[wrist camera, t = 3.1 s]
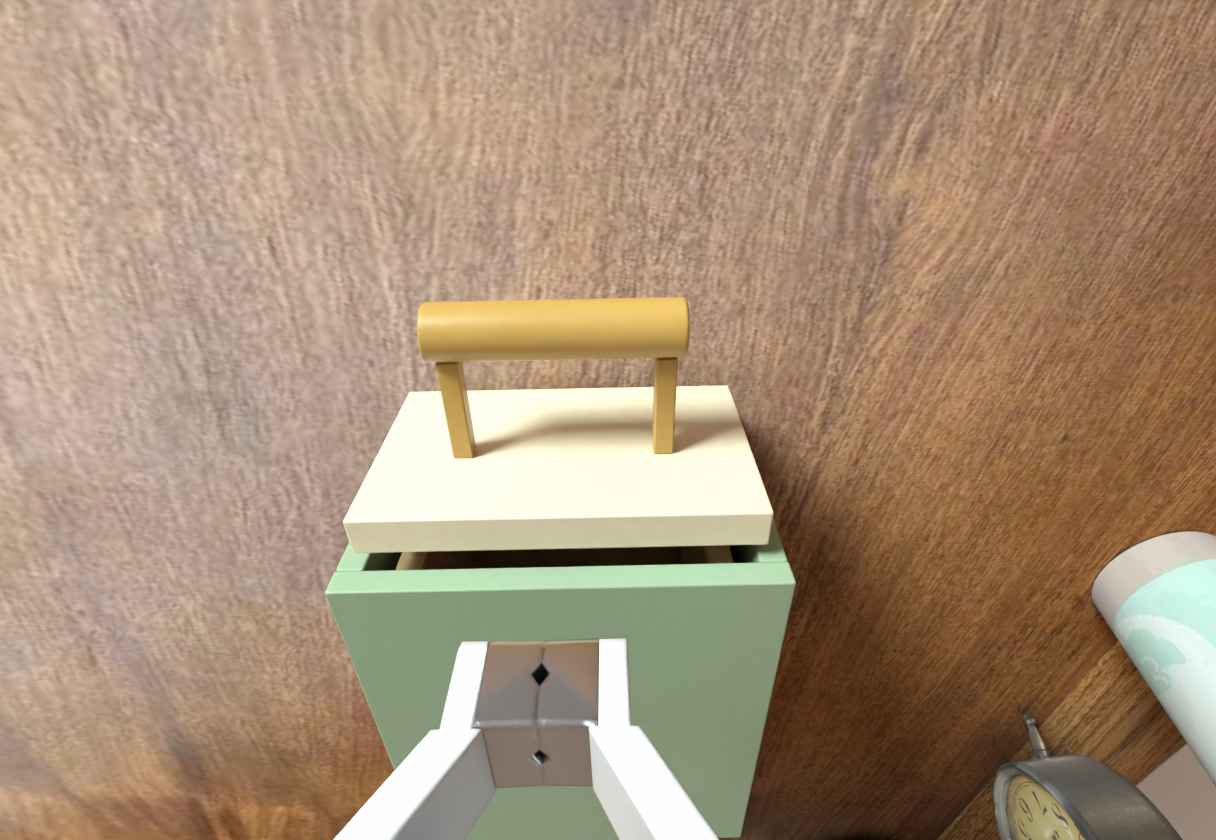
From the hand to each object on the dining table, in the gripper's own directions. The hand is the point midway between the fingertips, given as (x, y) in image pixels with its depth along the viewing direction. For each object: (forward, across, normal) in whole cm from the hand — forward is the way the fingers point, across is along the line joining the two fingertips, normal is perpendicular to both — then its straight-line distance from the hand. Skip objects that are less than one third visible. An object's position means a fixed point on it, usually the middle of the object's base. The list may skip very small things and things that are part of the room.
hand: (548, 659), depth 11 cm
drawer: (+12, 0, +5) cm, 13 cm away
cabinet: (+13, 0, +10) cm, 16 cm away
